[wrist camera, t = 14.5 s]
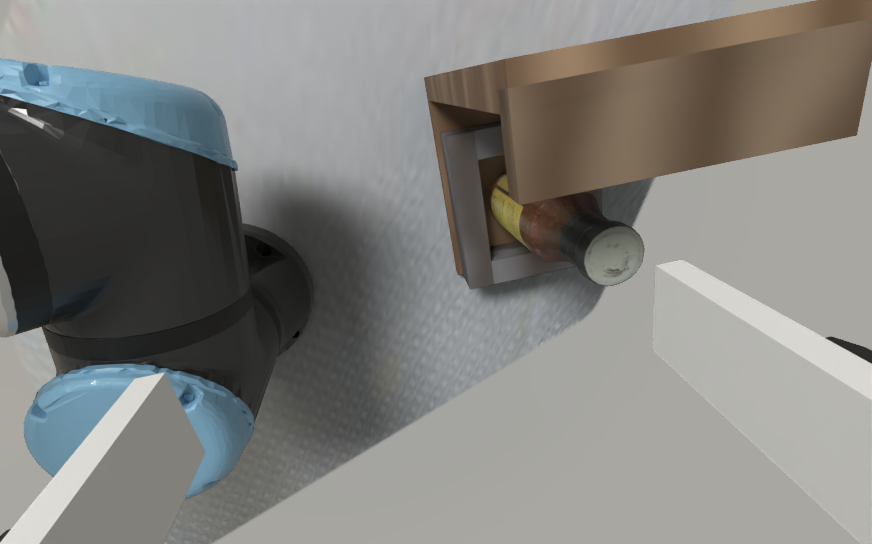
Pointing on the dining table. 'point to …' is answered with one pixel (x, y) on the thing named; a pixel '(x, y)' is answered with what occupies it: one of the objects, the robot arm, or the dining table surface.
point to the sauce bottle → (571, 233)
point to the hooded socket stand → (639, 114)
